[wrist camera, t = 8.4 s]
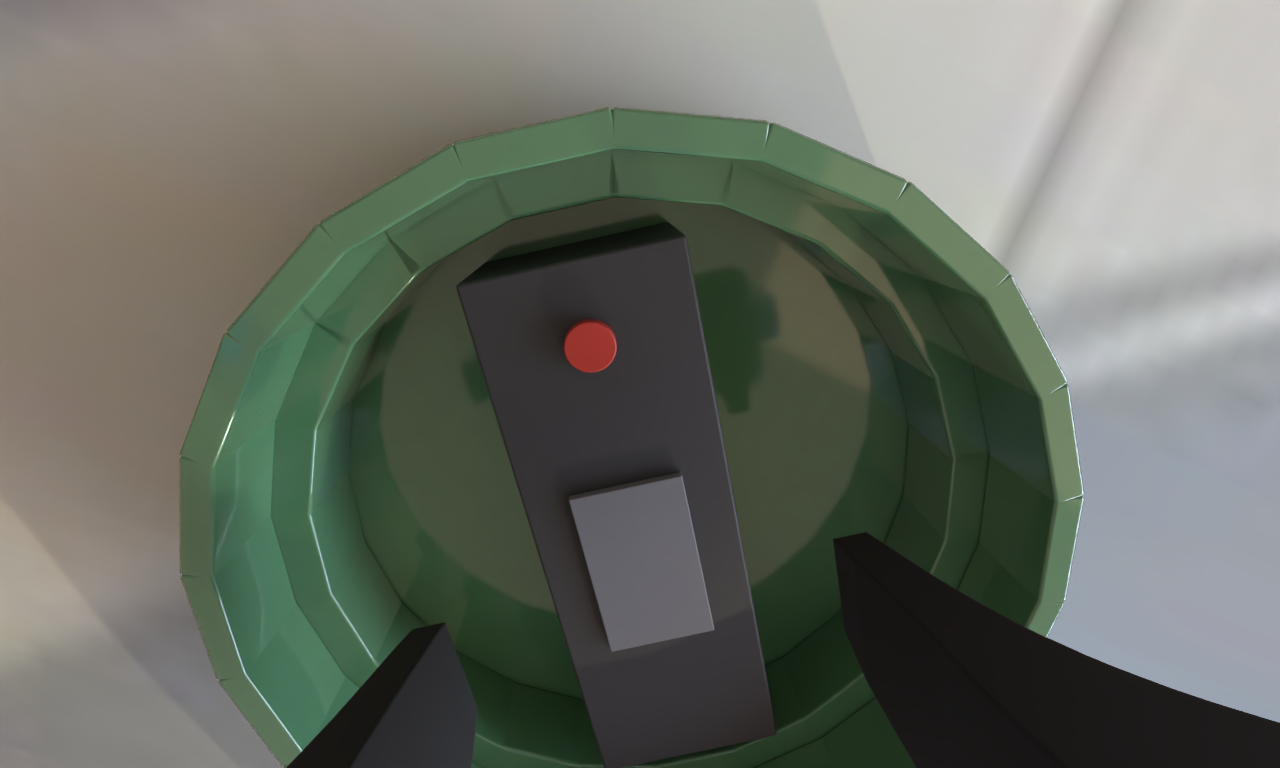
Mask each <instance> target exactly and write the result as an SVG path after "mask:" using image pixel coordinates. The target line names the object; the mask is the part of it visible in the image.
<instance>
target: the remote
mask: <svg viewBox="0 0 1280 768" xmlns="http://www.w3.org/2000/svg"><path fill="white" fill-rule="evenodd" d="M456 289H457V292H458V296H459V299H460V302H461V305H462V309H463V312H464V315H465V318H466V321H467V325H468V328H469V331H470V334H471V338H472V341H473V344H474V347H475V351H476V354H477V357H478V360H479V364H480V367H481V370H482V373H483V376H484V380H485V383H486V386H487V389H488V393H489V396H490V399H491V402H492V406H493V409H494V412H495V415H496V419H497V422H498V425H499V428H500V431H501V435H502V438H503V441H504V444H505V448H506V451H507V454H508V457H509V461H510V464H511V467H512V470H513V474H514V477H515V480H516V483H517V486H518V490H519V493H520V496H521V499H522V503H523V506H524V509H525V512H526V516H527V519H528V522H529V525H530V528H531V532H532V535H533V538H534V541H535V545H536V548H537V551H538V554H539V558H540V561H541V564H542V567H543V571H544V574H545V577H546V580H547V583H548V587H549V590H550V593H551V596H552V600H553V603H554V606H555V609H556V613H557V616H558V619H559V622H560V626H561V629H562V632H563V635H564V638H565V642H566V645H567V648H568V651H569V655H570V658H571V661H572V664H573V668H574V671H575V674H576V677H577V681H578V684H579V687H580V690H581V693H582V697H583V700H584V703H585V706H586V710H587V713H588V716H589V719H590V723H591V726H592V729H593V732H594V736H595V739H596V742H597V745H598V748H599V752H600V755H601V758H602V761H603V765H604V768H624V767H628V766H633V765H638V764H643V763H648V762H652V761H657V760H662V759H667V758H671V757H676V756H681V755H686V754H691V753H695V752H700V751H705V750H710V749H715V748H719V747H724V746H729V745H734V744H738V743H743V742H748V741H753V740H758V739H762V738H767V737H772V736H775V735H776V734H777V730H776V725H775V719H774V714H773V708H772V703H771V697H770V692H769V686H768V681H767V675H766V670H765V664H764V659H763V654H762V648H761V643H760V637H759V632H758V626H757V621H756V615H755V610H754V604H753V599H752V593H751V588H750V582H749V577H748V571H747V566H746V560H745V555H744V549H743V544H742V539H741V533H740V528H739V522H738V517H737V511H736V506H735V500H734V495H733V489H732V484H731V478H730V473H729V467H728V462H727V456H726V451H725V445H724V440H723V434H722V429H721V423H720V418H719V413H718V407H717V402H716V396H715V391H714V385H713V380H712V374H711V369H710V363H709V358H708V352H707V347H706V341H705V336H704V330H703V325H702V319H701V314H700V308H699V303H698V298H697V292H696V287H695V281H694V276H693V270H692V265H691V259H690V254H689V248H688V243H687V237H686V236H685V235H684V234H683V233H682V232H681V231H679V230H678V229H677V228H676V227H674V226H673V225H672V224H671V223H669V222H665V223H661V224H656V225H652V226H647V227H643V228H638V229H634V230H629V231H625V232H620V233H616V234H611V235H607V236H602V237H598V238H593V239H589V240H584V241H580V242H575V243H571V244H566V245H562V246H557V247H552V248H548V249H543V250H539V251H534V252H530V253H525V254H521V255H516V256H512V257H507V258H503V259H498V260H494V261H489V262H485V263H484V264H483V265H482V266H480V267H479V268H478V269H477V270H475V271H474V272H473V273H471V274H470V275H469V276H468V277H466V278H465V279H464V280H463V281H461V282H460V283H459V284H458V285H457V286H456Z"/></svg>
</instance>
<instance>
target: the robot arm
mask: <svg viewBox="0 0 1280 768" xmlns="http://www.w3.org/2000/svg"><path fill="white" fill-rule="evenodd" d="M833 544H834V551H835V559H836V567H837V575H838V583H839V590H840V598H841V606H842V614H843V621H844V629H845V632H846V635H847V637H848V639H849V642H850V644H851V646H852V649H853V651H854V653H855V656H856V658H857V660H858V663H859V665H860V667H861V669H862V672H863V674H864V676H865V678H866V681H867V683H868V685H869V686H870V688H871V690H872V692H873V694H874V695H875V697H876V699H877V701H878V702H879V704H880V706H881V708H882V709H883V711H884V713H885V715H886V716H887V718H888V720H889V722H890V723H891V725H892V727H893V728H894V730H895V732H896V734H897V735H898V737H899V739H900V741H901V742H902V744H903V746H904V747H905V749H906V751H907V753H908V754H909V756H910V758H911V759H912V761H913V763H914V765H915V766H916V768H1280V723H1278V722H1275V721H1271V720H1268V719H1265V718H1262V717H1258V716H1255V715H1252V714H1249V713H1245V712H1242V711H1239V710H1236V709H1232V708H1229V707H1226V706H1223V705H1219V704H1216V703H1213V702H1210V701H1207V700H1204V699H1201V698H1198V697H1195V696H1192V695H1189V694H1186V693H1183V692H1180V691H1177V690H1174V689H1172V688H1169V687H1166V686H1163V685H1161V684H1158V683H1155V682H1153V681H1150V680H1147V679H1145V678H1142V677H1139V676H1137V675H1134V674H1131V673H1129V672H1126V671H1124V670H1121V669H1118V668H1116V667H1113V666H1111V665H1108V664H1106V663H1103V662H1101V661H1098V660H1096V659H1094V658H1091V657H1089V656H1086V655H1084V654H1082V653H1080V652H1078V651H1075V650H1073V649H1071V648H1069V647H1066V646H1064V645H1062V644H1060V643H1058V642H1055V641H1053V640H1051V639H1049V638H1047V637H1044V636H1042V635H1040V634H1038V633H1036V632H1034V631H1032V630H1030V629H1028V628H1026V627H1024V626H1022V625H1020V624H1018V623H1016V622H1014V621H1012V620H1010V619H1008V618H1007V617H1005V616H1003V615H1001V614H999V613H997V612H995V611H993V610H992V609H990V608H988V607H986V606H984V605H982V604H980V603H979V602H977V601H975V600H973V599H972V598H970V597H968V596H966V595H965V594H963V593H961V592H960V591H958V590H956V589H955V588H953V587H951V586H950V585H948V584H946V583H945V582H943V581H941V580H940V579H938V578H936V577H935V576H933V575H932V574H930V573H928V572H927V571H925V570H924V569H922V568H921V567H919V566H918V565H916V564H914V563H913V562H911V561H910V560H908V559H907V558H905V557H904V556H902V555H901V554H899V553H898V552H896V551H895V550H893V549H892V548H890V547H888V546H887V545H885V544H884V543H882V542H881V541H879V540H878V539H876V538H875V537H873V536H872V535H870V534H869V533H867V532H864V533H859V534H854V535H850V536H845V537H840V538H836V539H833ZM477 710H478V708H477V705H476V703H475V700H474V697H473V695H472V692H471V689H470V687H469V684H468V681H467V679H466V676H465V674H464V671H463V668H462V666H461V663H460V660H459V658H458V655H457V652H456V650H455V647H454V645H453V642H452V639H451V637H450V634H449V631H448V629H447V626H446V623H445V622H444V623H439V624H435V625H430V626H425V627H421V628H416V629H412V630H411V631H410V632H409V634H408V635H407V636H406V637H405V638H404V639H403V640H402V641H401V642H400V643H399V644H398V645H397V646H396V647H395V649H394V650H393V651H392V652H391V653H390V654H389V655H388V656H387V658H386V659H385V660H384V661H383V662H382V663H381V664H380V666H379V667H378V668H377V669H376V670H375V671H374V672H373V674H372V675H371V676H370V677H369V678H368V679H367V680H366V682H365V683H364V684H363V685H362V686H361V687H360V688H359V689H358V691H357V692H356V693H355V694H354V695H353V696H352V697H351V699H350V700H349V701H348V702H347V703H346V704H345V705H344V706H343V708H342V709H341V710H340V711H339V712H338V713H337V714H336V715H335V717H334V718H333V719H332V720H331V721H330V722H329V723H328V724H327V725H326V726H325V727H324V728H323V729H322V731H321V732H320V733H319V734H318V735H317V736H316V737H315V738H314V739H313V740H312V741H311V742H310V743H309V744H308V745H307V746H306V747H305V748H304V749H303V750H302V752H301V753H300V754H299V755H298V756H297V757H296V758H295V759H294V760H293V761H292V762H291V763H290V764H289V765H288V766H287V767H286V768H471V765H472V757H473V749H474V741H475V731H476V720H477Z"/></svg>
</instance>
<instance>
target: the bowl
mask: <svg viewBox="0 0 1280 768" xmlns="http://www.w3.org/2000/svg"><path fill="white" fill-rule="evenodd" d="M665 222H669V223H671V224H672V225H673V226H674V227H676V228H677V229H678V230H679V231H681V232H682V233H683V234H684V235H685V236H686V237H687V243H688V248H689V254H690V259H691V265H692V270H693V276H694V281H695V287H696V292H697V298H698V303H699V308H700V314H701V319H702V325H703V330H704V336H705V341H706V347H707V352H708V358H709V363H710V369H711V374H712V380H713V385H714V391H715V396H716V402H717V407H718V413H719V418H720V423H721V429H722V434H723V440H724V445H725V451H726V456H727V462H728V467H729V473H730V478H731V484H732V489H733V495H734V500H735V506H736V511H737V517H738V522H739V528H740V533H741V539H742V544H743V549H744V555H745V560H746V566H747V571H748V577H749V582H750V588H751V593H752V599H753V604H754V610H755V615H756V621H757V626H758V632H759V637H760V643H761V648H762V654H763V659H764V664H765V670H766V675H767V681H768V686H769V692H770V697H771V703H772V708H773V714H774V719H775V725H776V730H777V734H776V735H775V736H772V737H767V738H762V739H758V740H753V741H748V742H743V743H738V744H734V745H729V746H724V747H719V748H715V749H710V750H705V751H700V752H695V753H691V754H686V755H681V756H676V757H671V758H667V759H662V760H657V761H652V762H648V763H643V764H638V765H633V766H628V767H624V768H916V766H915V765H914V763H913V761H912V759H911V758H910V756H909V754H908V753H907V751H906V749H905V747H904V746H903V744H902V742H901V741H900V739H899V737H898V735H897V734H896V732H895V730H894V728H893V727H892V725H891V723H890V722H889V720H888V718H887V716H886V715H885V713H884V711H883V709H882V708H881V706H880V704H879V702H878V701H877V699H876V697H875V695H874V694H873V692H872V690H871V688H870V686H869V685H868V683H867V681H866V678H865V676H864V674H863V672H862V669H861V667H860V665H859V663H858V660H857V658H856V656H855V653H854V651H853V649H852V646H851V644H850V642H849V639H848V637H847V635H846V632H845V629H844V621H843V614H842V606H841V598H840V590H839V583H838V575H837V567H836V559H835V551H834V544H833V539H836V538H840V537H845V536H850V535H854V534H859V533H864V532H867V533H869V534H870V535H872V536H873V537H875V538H876V539H878V540H879V541H881V542H882V543H884V544H885V545H887V546H888V547H890V548H892V549H893V550H895V551H896V552H898V553H899V554H901V555H902V556H904V557H905V558H907V559H908V560H910V561H911V562H913V563H914V564H916V565H918V566H919V567H921V568H922V569H924V570H925V571H927V572H928V573H930V574H932V575H933V576H935V577H936V578H938V579H940V580H941V581H943V582H945V583H946V584H948V585H950V586H951V587H953V588H955V589H956V590H958V591H960V592H961V593H963V594H965V595H966V596H968V597H970V598H972V599H973V600H975V601H977V602H979V603H980V604H982V605H984V606H986V607H988V608H990V609H992V610H993V611H995V612H997V613H999V614H1001V615H1003V616H1005V617H1007V618H1008V619H1010V620H1012V621H1014V622H1016V623H1018V624H1020V625H1022V626H1024V627H1026V628H1028V629H1030V630H1032V631H1034V632H1036V633H1038V634H1040V635H1042V636H1044V637H1048V635H1049V633H1050V631H1051V629H1052V627H1053V625H1054V623H1055V621H1056V619H1057V617H1058V615H1059V613H1060V611H1061V609H1062V607H1063V605H1064V602H1063V601H1065V599H1066V595H1067V589H1068V584H1069V578H1070V573H1071V567H1072V562H1073V556H1074V551H1075V546H1076V540H1077V535H1078V529H1079V524H1080V518H1081V513H1082V507H1083V502H1084V497H1083V496H1082V495H1084V488H1083V481H1082V474H1081V468H1080V461H1079V454H1078V447H1077V440H1076V433H1075V426H1074V419H1073V412H1072V405H1071V398H1070V391H1069V386H1068V384H1067V383H1068V381H1067V379H1066V377H1065V375H1064V373H1063V371H1062V369H1061V367H1060V366H1059V364H1058V362H1057V360H1056V358H1055V356H1054V354H1053V352H1052V350H1051V349H1050V347H1049V345H1048V343H1047V341H1046V339H1045V337H1044V335H1043V333H1042V331H1041V330H1040V328H1039V326H1038V324H1037V322H1036V320H1035V318H1034V316H1033V314H1032V313H1031V311H1030V309H1029V307H1028V305H1027V303H1026V301H1025V299H1024V297H1023V296H1022V294H1021V292H1020V290H1019V288H1018V286H1017V284H1016V282H1015V280H1014V279H1013V277H1012V275H1010V273H1009V271H1008V270H1007V269H1006V268H1005V267H1004V266H1003V265H1001V264H1000V263H999V262H998V261H997V260H996V259H995V258H994V257H993V256H992V255H991V254H989V253H988V252H987V251H986V250H985V249H984V248H983V247H982V246H981V245H980V244H978V243H977V242H976V241H975V240H974V239H973V238H972V237H971V236H970V235H969V234H967V233H966V232H965V231H964V230H963V229H962V228H961V227H960V226H959V225H958V224H957V223H955V222H954V221H953V220H952V219H951V218H950V217H949V216H948V215H947V214H946V213H944V212H943V211H942V210H941V209H940V208H939V207H938V206H937V205H936V204H935V203H933V202H932V201H931V200H930V199H929V198H928V197H927V196H926V195H925V194H924V193H923V192H921V191H920V190H919V189H918V188H917V187H916V186H915V185H914V184H913V183H911V182H907V181H906V180H905V179H904V178H902V177H899V176H897V175H895V174H892V173H890V172H888V171H886V170H883V169H881V168H879V167H876V166H874V165H872V164H869V163H867V162H865V161H862V160H860V159H858V158H855V157H853V156H851V155H848V154H846V153H844V152H841V151H839V150H837V149H834V148H832V147H830V146H827V145H825V144H823V143H821V142H818V141H816V140H814V139H811V138H809V137H807V136H804V135H802V134H800V133H797V132H795V131H793V130H790V129H788V128H786V127H783V126H781V125H779V124H776V123H769V122H767V121H765V120H754V119H743V118H732V117H721V116H710V115H698V114H687V113H676V112H665V111H654V110H643V109H631V108H620V107H615V108H612V110H611V109H610V108H602V109H598V110H593V111H589V112H585V113H580V114H576V115H571V116H567V117H562V118H558V119H553V120H549V121H545V122H540V123H536V124H531V125H527V126H522V127H518V128H513V129H509V130H504V131H500V132H496V133H491V134H487V135H482V136H478V137H473V138H469V139H464V140H460V141H456V142H454V144H453V145H452V144H451V145H447V146H445V147H444V148H442V149H440V150H439V151H437V152H435V153H434V154H432V155H430V156H429V157H427V158H425V159H423V160H422V161H420V162H418V163H417V164H415V165H413V166H412V167H410V168H408V169H407V170H405V171H403V172H402V173H400V174H398V175H397V176H395V177H393V178H392V179H390V180H388V181H387V182H385V183H383V184H381V185H380V186H378V187H376V188H375V189H373V190H371V191H370V192H368V193H366V194H365V195H363V196H361V197H360V198H358V199H356V200H355V201H353V202H351V203H350V204H348V205H346V206H345V207H343V208H341V209H339V210H338V211H336V212H334V213H333V214H331V215H329V216H328V217H326V218H324V219H323V220H322V221H321V222H320V224H318V225H316V226H315V227H314V228H313V229H312V230H311V231H310V233H309V234H308V235H307V236H306V237H305V238H304V240H303V241H302V242H301V243H300V244H299V246H298V247H297V248H296V249H295V250H294V251H293V253H292V254H291V255H290V256H289V257H288V259H287V260H286V261H285V262H284V263H283V264H282V266H281V267H280V268H279V269H278V270H277V272H276V273H275V274H274V275H273V276H272V277H271V279H270V280H269V281H268V282H267V283H266V284H265V286H264V287H263V288H262V289H261V290H260V292H259V293H258V294H257V295H256V296H255V297H254V299H253V300H252V301H251V302H250V303H249V305H248V306H247V307H246V308H245V309H244V310H243V312H242V313H241V314H240V315H239V316H238V318H237V319H236V320H235V321H234V322H233V323H232V325H231V326H230V327H229V328H228V330H227V333H225V334H224V335H223V338H222V341H221V343H220V346H219V349H218V351H217V354H216V357H215V360H214V362H213V365H212V368H211V370H210V373H209V376H208V379H207V381H206V384H205V387H204V389H203V392H202V395H201V397H200V400H199V403H198V406H197V408H196V411H195V414H194V416H193V419H192V422H191V425H190V427H189V430H188V433H187V435H186V438H185V441H184V444H183V446H182V449H181V452H180V455H181V457H180V573H181V574H182V575H181V580H182V583H183V585H184V588H185V591H186V594H187V597H188V600H189V602H190V605H191V608H192V611H193V614H194V616H195V619H196V622H197V625H198V628H199V631H200V633H201V636H202V639H203V642H204V645H205V647H206V650H207V653H208V656H209V659H210V662H211V664H212V667H213V670H214V673H215V676H216V678H217V679H219V684H220V685H221V687H222V688H223V689H224V691H225V692H226V693H227V695H228V696H229V697H230V699H231V700H232V701H233V702H234V704H235V705H236V706H237V708H238V709H239V710H240V712H241V713H242V714H243V716H244V717H245V718H246V720H247V721H248V722H249V724H250V725H251V726H252V727H253V729H254V730H255V731H256V733H257V734H258V735H259V737H260V738H261V739H262V741H263V742H264V743H265V745H266V746H267V747H268V749H269V750H270V751H271V753H272V754H273V755H274V756H275V758H276V759H277V760H278V762H279V763H280V764H281V765H282V766H284V767H283V768H286V767H287V766H288V765H289V764H290V763H291V762H292V761H293V760H294V759H295V758H296V757H297V756H298V755H299V754H300V753H301V752H302V750H303V749H304V748H305V747H306V746H307V745H308V744H309V743H310V742H311V741H312V740H313V739H314V738H315V737H316V736H317V735H318V734H319V733H320V732H321V731H322V729H323V728H324V727H325V726H326V725H327V724H328V723H329V722H330V721H331V720H332V719H333V718H334V717H335V715H336V714H337V713H338V712H339V711H340V710H341V709H342V708H343V706H344V705H345V704H346V703H347V702H348V701H349V700H350V699H351V697H352V696H353V695H354V694H355V693H356V692H357V691H358V689H359V688H360V687H361V686H362V685H363V684H364V683H365V682H366V680H367V679H368V678H369V677H370V676H371V675H372V674H373V672H374V671H375V670H376V669H377V668H378V667H379V666H380V664H381V663H382V662H383V661H384V660H385V659H386V658H387V656H388V655H389V654H390V653H391V652H392V651H393V650H394V649H395V647H396V646H397V645H398V644H399V643H400V642H401V641H402V640H403V639H404V638H405V637H406V636H407V635H408V634H409V632H410V631H411V630H412V629H416V628H421V627H425V626H430V625H435V624H439V623H444V622H445V623H446V626H447V629H448V631H449V634H450V637H451V639H452V642H453V645H454V647H455V650H456V652H457V655H458V658H459V660H460V663H461V666H462V668H463V671H464V674H465V676H466V679H467V681H468V684H469V687H470V689H471V692H472V695H473V697H474V700H475V703H476V705H477V708H478V710H477V720H476V731H475V741H474V749H473V757H472V765H471V768H604V765H603V761H602V758H601V755H600V752H599V748H598V745H597V742H596V739H595V736H594V732H593V729H592V726H591V723H590V719H589V716H588V713H587V710H586V706H585V703H584V700H583V697H582V693H581V690H580V687H579V684H578V681H577V677H576V674H575V671H574V668H573V664H572V661H571V658H570V655H569V651H568V648H567V645H566V642H565V638H564V635H563V632H562V629H561V626H560V622H559V619H558V616H557V613H556V609H555V606H554V603H553V600H552V596H551V593H550V590H549V587H548V583H547V580H546V577H545V574H544V571H543V567H542V564H541V561H540V558H539V554H538V551H537V548H536V545H535V541H534V538H533V535H532V532H531V528H530V525H529V522H528V519H527V516H526V512H525V509H524V506H523V503H522V499H521V496H520V493H519V490H518V486H517V483H516V480H515V477H514V474H513V470H512V467H511V464H510V461H509V457H508V454H507V451H506V448H505V444H504V441H503V438H502V435H501V431H500V428H499V425H498V422H497V419H496V415H495V412H494V409H493V406H492V402H491V399H490V396H489V393H488V389H487V386H486V383H485V380H484V376H483V373H482V370H481V367H480V364H479V360H478V357H477V354H476V351H475V347H474V344H473V341H472V338H471V334H470V331H469V328H468V325H467V321H466V318H465V315H464V312H463V309H462V305H461V302H460V299H459V296H458V292H457V289H456V286H457V285H458V284H459V283H460V282H461V281H463V280H464V279H465V278H466V277H468V276H469V275H470V274H471V273H473V272H474V271H475V270H477V269H478V268H479V267H480V266H482V265H483V264H484V263H485V262H489V261H494V260H498V259H503V258H507V257H512V256H516V255H521V254H525V253H530V252H534V251H539V250H543V249H548V248H552V247H557V246H562V245H566V244H571V243H575V242H580V241H584V240H589V239H593V238H598V237H602V236H607V235H611V234H616V233H620V232H625V231H629V230H634V229H638V228H643V227H647V226H652V225H656V224H661V223H665Z"/></svg>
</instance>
